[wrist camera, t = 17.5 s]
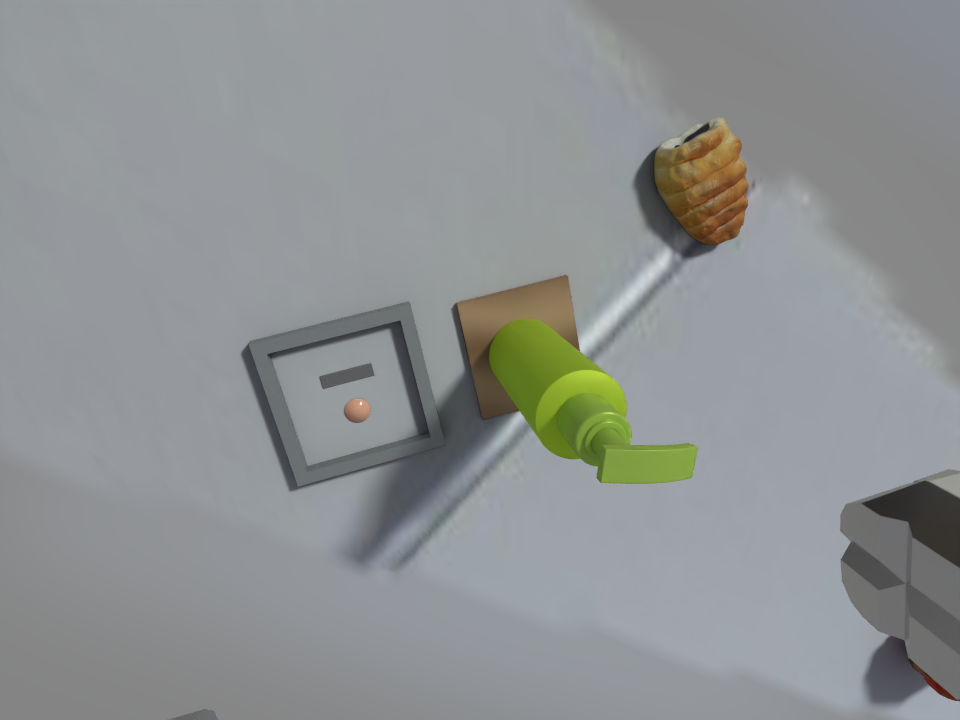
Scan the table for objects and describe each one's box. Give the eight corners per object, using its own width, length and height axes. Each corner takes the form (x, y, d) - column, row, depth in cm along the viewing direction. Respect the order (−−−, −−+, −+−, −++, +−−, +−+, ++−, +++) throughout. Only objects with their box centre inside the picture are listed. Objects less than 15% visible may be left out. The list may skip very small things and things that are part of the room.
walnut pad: (456, 302, 49) (457, 304, 48) (565, 275, 50) (567, 276, 49) (481, 417, 52) (483, 420, 52) (584, 389, 53) (586, 391, 53)
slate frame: (250, 341, 47) (248, 344, 46) (408, 301, 48) (410, 304, 47) (298, 480, 51) (297, 486, 50) (443, 440, 52) (445, 445, 51)
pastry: (751, 218, 52) (781, 222, 48) (681, 260, 52) (706, 267, 48) (712, 110, 49) (741, 107, 45) (637, 155, 49) (660, 154, 45)
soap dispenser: (566, 388, 52) (690, 516, 34) (485, 387, 51) (567, 520, 32) (575, 320, 51) (710, 413, 32) (492, 317, 49) (582, 413, 31)
